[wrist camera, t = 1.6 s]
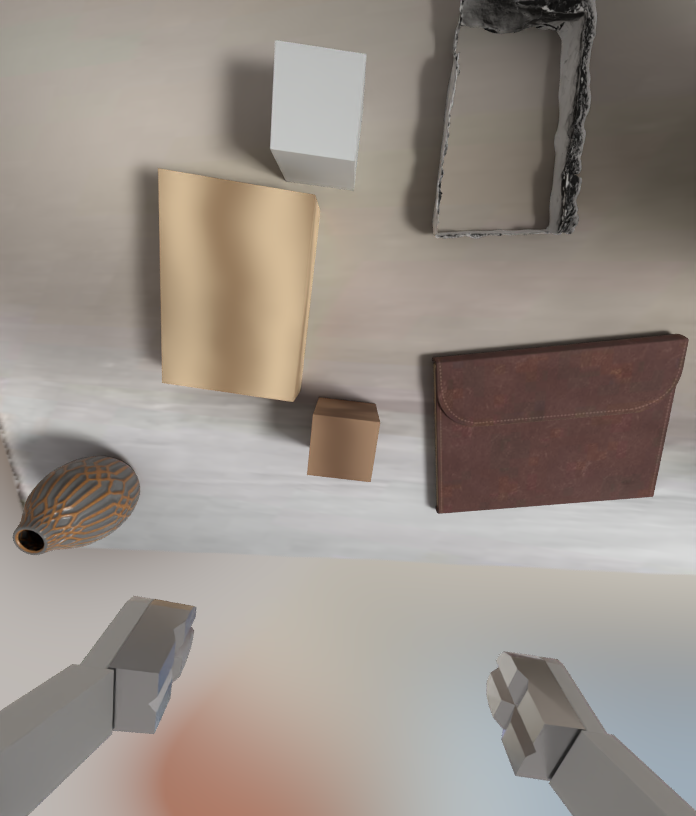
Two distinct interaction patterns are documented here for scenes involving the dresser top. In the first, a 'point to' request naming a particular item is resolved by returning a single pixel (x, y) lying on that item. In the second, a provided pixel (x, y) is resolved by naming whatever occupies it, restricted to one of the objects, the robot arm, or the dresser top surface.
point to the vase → (77, 505)
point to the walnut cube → (343, 439)
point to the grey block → (317, 113)
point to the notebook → (553, 422)
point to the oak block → (235, 284)
